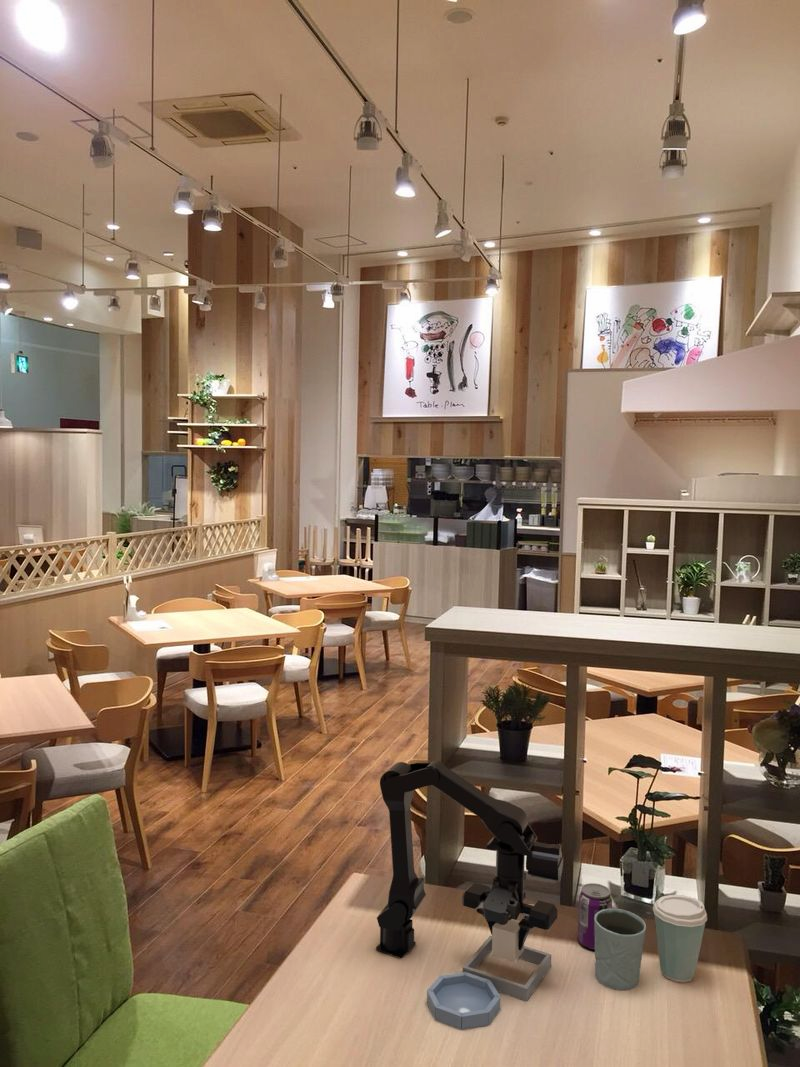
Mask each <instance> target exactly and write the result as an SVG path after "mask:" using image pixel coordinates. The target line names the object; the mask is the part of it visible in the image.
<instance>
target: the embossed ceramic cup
mask: <svg viewBox="0 0 800 1067" xmlns="http://www.w3.org/2000/svg"><path fill="white" fill-rule="evenodd" d="M594 926H595V949H594V959H595V963H594V971H595V972H594V974H595V975H594V976H595V978H596V980H597V981H598V983H600V984H601V985H603V986H604V987H606V988H609V989H611V990H615V991H629V990H632V989H635V988H636V987H637V986H638V983H639V981H640V980H639V979H640V974H641V973H640V972H641V967H642V960H643V954H644V953H643V951H644V946H643V945H644V942H645V938H646V929H647V925H646V923H645V920H643V919H642V917H640V916H639V915H637V914H635V913H633V912H631V911H628V910H625V909H622V908H621V909H620V908H612V909H604V910H601V911H599V912H597V913H596V914H595V917H594Z"/></svg>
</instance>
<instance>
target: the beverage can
mask: <svg viewBox="0 0 800 1067" xmlns="http://www.w3.org/2000/svg"><path fill="white" fill-rule="evenodd" d="M580 890H581V891H580V892H579V895H578V914H577V915H578V916H577V918H578V920H577V941H578V942H579V944H581V945H582V946H585V947H586V948H587V949H591V950H595V926H594V917H595V914H596V913H597V912H599V911H601V910H604V909H613V898H612V896H611V890H610V889H609V887H607V886H605V885H604V884H600V883H594V882H592V883H591V882H590V883H585V884H583V885H582V886H581V888H580Z"/></svg>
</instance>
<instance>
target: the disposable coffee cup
mask: <svg viewBox="0 0 800 1067" xmlns="http://www.w3.org/2000/svg"><path fill="white" fill-rule="evenodd" d="M652 911H653V914H654V922H655V932H656V934H655V935H656V943H657V950H658V960H659V968H660V971H661V973H662V976H664V977H665V979H668V980H670V981H672V982H675V983H683V984H684V983H688V982H691V981H692V980H693V979H694V976H695V975H696V971H697V965H698V960H699V956H700V951H701V947H702V941H703V937H704V931H705V927H706V922H707V921H708V914H707V911H706V909H705V905H704V903H703V901H701V900H698V899H697V898H696V897H691V896H687V895H684V894H681V895H680V894H669V895H665V896H663V895H662V896H661V897H659V898H658V899H657V900H656V901H655V902H654V903H653V906H652Z"/></svg>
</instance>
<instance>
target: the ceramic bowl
mask: <svg viewBox="0 0 800 1067" xmlns="http://www.w3.org/2000/svg"><path fill="white" fill-rule="evenodd" d="M501 998H502V997H501V995H500V992H498V991H497V990H496V989H495V987H494V985H493V984H492V982H491V981H490V980H488V979H485V978H482V977H479V976H476V975H473V974H470V973H467V972H466V973H465V972H462V971H461V972H457V973H456V972H455V973H450V974H443V975H439V976H438V977H437V978H436V979H435V980H434V981H433V983H432V984H431V985H430V986H429V987H428V988H427V990H426V1003H427V1006H428V1008H429V1010H430V1012H431V1014H432V1016H433V1018H434V1020H435V1021H436V1022H439V1023H441V1024H445V1025H448V1026H451V1027H453V1028H455V1029H458V1030H462V1031H463V1030H467V1029H475V1028H480V1027H487V1026H490V1025H491V1023H492V1022H493V1020H494V1018H496V1016H497V1015H498V1013H499V1012H500V1011H501ZM499 1010H500V1011H499Z"/></svg>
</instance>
